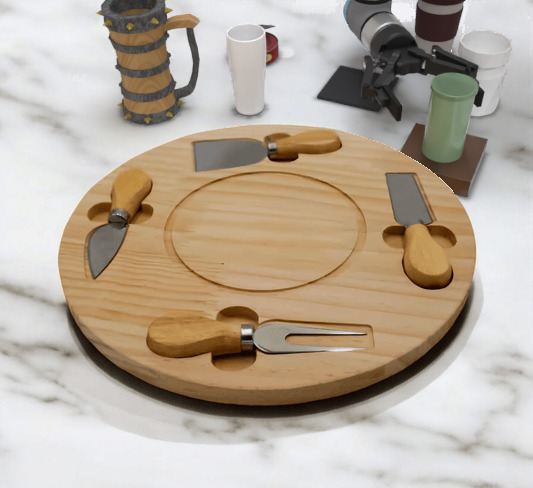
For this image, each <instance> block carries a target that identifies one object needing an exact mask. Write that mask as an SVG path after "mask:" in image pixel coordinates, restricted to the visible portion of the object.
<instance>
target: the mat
mask: <svg viewBox="0 0 533 488" xmlns="http://www.w3.org/2000/svg"><path fill="white" fill-rule="evenodd" d="M380 74H381V73H379V72H375V71H374V73H373V74H372V81H371V85H374V83H375V82H376V80H377V79H378V77H379V76H380ZM363 76H364V71H363V69H362V68H361V69H360V68H355V67H350V66H347V65H346V66H345V65H341V64H340V65H339V67H337V69H336V70H335V71H334V73H333V74H332V75H331V77H330V78H329V79H328V80H327V82H326V83H325V84H324V86H323V87H322V89H321V90H320V91H319V92H318V94H317V96H316V99H320V100H323V101H329V102H333V103H336V104H342V105H345V106H350V107H353V108H360V109H363V110H367V111H373V112H376V113H379V112H380V110H381V109H382V107H381V106H380V104H379V103H373V102H372V99H373V97H371V96H368V98H367V99H362V98H361V89H362V81H363ZM399 80H400V77H399V76H396V77H395V78H394V80H393V81H391V82H390V84H389V85H388V86H389V88H390V89H391V91H392V92H393V90H394V88H395V87H396V85H397V84H398V82H399Z"/></svg>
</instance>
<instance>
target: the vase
mask: <svg viewBox="0 0 533 488" xmlns="http://www.w3.org/2000/svg"><path fill="white" fill-rule="evenodd" d="M458 43H459V44H458V47H457V56H458V57H461V58H463V59H465V60H468V61H470V62H472V63H474V64H477V65H478V66H479V67H478V72H477V76H476V79H477V80H478V81H479V86H480V87H481V88H482V89H483V90H484V91H485V93H484V97H483V101H482V106H481V107H476V106H475V105H474V104H473V108H472V113H471V117H484V116H487V115H491V114H493V113H494V111H495V110H496V109H497V107H498V105H499V102H500V98H501V92H502V90H503V86H504V83H505V79H506V75H507V67H506V66H505V65H506V64H508V62H509V61H510V57H511V53H512V50H513V47H514V46H513V42H512V38H510V37H508V36H507V35H505V34H503V33H502V32H498V31H493V30H489V29H475V30H470V31H469V32H466V33H463V34H462V36H461V38H460V39H459V42H458Z"/></svg>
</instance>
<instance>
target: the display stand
mask: <svg viewBox="0 0 533 488" xmlns="http://www.w3.org/2000/svg"><path fill="white" fill-rule="evenodd" d="M425 125H426V124H423V123H419V122H415V124H414V125H413V128H412V129H411V131H410V133H409V135H408V137H407V139H406V140H405V142H404V144H403V146H402V148H401V149H400V151H399V153H400V152H402V153H404V154H405V155H407V156H409V157H411V158H412V159H414V160H416V161H418V162H419V163H421V164H422V165H424V166H425V167H427V168H428V169H430V170H431V171H432V172H433V173H435V174H436V175H437V176H438V177H440V178H441V179H442V180H443V181H444V182H445V183H446V184H447V185H448V186H449V187H450V188H451V189H452V190H453V192H454V193H455V194H454V193H453V194H454V195H458V196H462V197H466V198H468V197H469V194H470V191H471V189H472V186H473V184H474V181H475V178H476V176H477V173H478V170H479V168H480V166H481V163H482V161H483V158H484V157H485V153H486V149H487V145H488V140H489V138H485V137H481V136H476V135H471V134H469V133H467V135H466V140H465V145H464V149H463V154H462V156H461V157H460V158H459V159H458V160H456V161H454V162H449V163H441V162H436V161H433V160H430V159H429V158H427V157H426V156H425V155H424V154H423V152H422V143H423V137H424V131H425Z"/></svg>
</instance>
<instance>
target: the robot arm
mask: <svg viewBox="0 0 533 488" xmlns="http://www.w3.org/2000/svg"><path fill="white" fill-rule="evenodd" d="M392 3H393V0H346V1H345V3H344V5H343V10H342V11H343V13H342V14H343V18H344V21H345V22H346V24H347V26H348V28H349V30H350V31H351V32H352V34H354V36H355V37H356V38H357V40H358V41H359V42H360V43H361V45H363V47H364V48H365V50H366V51H367V52H368V55H366V54H365V55H364V56H363V65H362V68H363V69H362V70H363V71H364V76H363V81H362V89H361V98H362V99H367V98H368V96H371V97H373V99H372V102H373V103H379V104H380V106H381V108H385V109H387V110H388V113H390V115H391V116H392V118H393V119H394V121H395V122H401V121H402V117H403V116H402V115H403V109H404V107H403V106H404V105H403V104H402V103H401V100H399V99H398V97H397V96H396V94H395V93H394V91H393V90H392V91H391V89H390V88H389V86H388V85H389V84H390V82H391V81H393V80H394V78H395V77H397V76H401V77H402V76H407V75H415V74H418V75H422V76H424V77H425V76H428V75H430V76H434V77H436V76H437V75H440V74H443V73H460V74H464V75H467V76H469V77H471V78H473V79H474V80H475V81H476V82H477V83H478V86H479V81H478V80H477V79H476V76H477V72H478V67H479V66H478V65H477V64H474V63H472V62H470V61H468V60H465V59H463V58H461V57H459V55H456V54H454V53H452V52H451V53H449V52H447V51H445V50H443V49H442V48H441V47H440V46H438V45H433V46H432V50H428V51H424V50H423V49H420V48H419V47H418V45H417V43H416V40H415V37H414V35H412V34H411V32H410V31H409V30H408V29H407V28H406V26H404V24H403V23H402V22H401V21H400V20H399V19H398V18H397V16H396V15H395V14H394V13H393V12H392V5H393V4H392ZM423 66H424V68H423ZM377 68H379V70H382V71H381V73H380V76H379V77H378V79H377V80H376V82H375V83H374V85H371V81H372V74H373V73H374V72H375V71H376V70H377ZM484 93H485V91H484V90H483V89H482V88H481V87H480V86H479V87H478V92H477V94H476V96H475V99H474V105H475V106H476V107H481V106H482V101H483V97H484Z"/></svg>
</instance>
